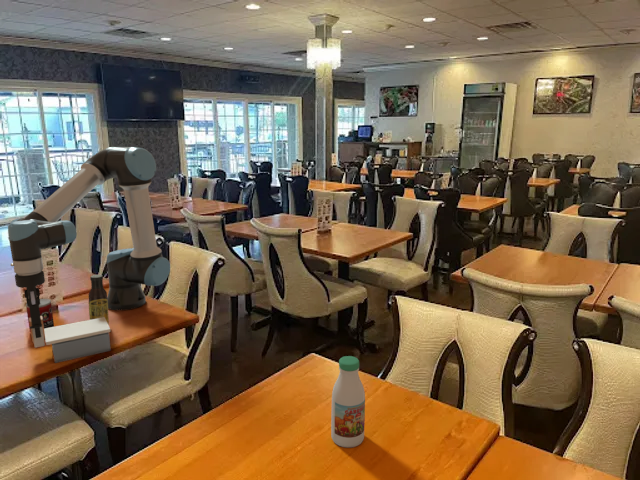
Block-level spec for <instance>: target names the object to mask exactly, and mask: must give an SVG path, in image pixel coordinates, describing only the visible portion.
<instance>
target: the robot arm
mask: <svg viewBox="0 0 640 480" xmlns="http://www.w3.org/2000/svg"><path fill="white" fill-rule="evenodd" d="M154 157H155V156H154V155H153V154H152V152H150V151H148V150H147V149H145V148H143V147H137V146H110V147H106V148H104V149H101V150H100V151H98V152H97V153H95V154H94V155H92V156H91V157H89V158H88V159H87V160H86V161H84V162H83V163H82V164H81V165H80V170H79V171H77V172H76V173H75V174H74V175H72V177H70V178H69V179H68V180H67V181H66V182H65V183H63V184H62V185H61V186H60V187H58V189H56V190H55V191H54V192H53V193H52V194H51V195H50V196H49V197H47V198H46V199H45V200H44V201H42V202H41V203H40V204H39V205H38V206H37V207H36V208H34V209H33V210H32V211H31V212H30V213H29V214H27V215H26V216H25V217H19V218H15V219H13V220H12V221H10V223H9V224H8V225H7V234H8V237H7V238H8V241H9V246H10V252H11V253H10V254H11V260H12V263H10V266H11V267H13V273H14V280H15V285H16V287H18V288H20V289H22V288H23V289H24V288H25V289H24V290H23V293H24V298H25V301H26V304H27V306H28V307H29V308H30V317H31V322H32V326H30V327H29V326H28V329H29V328H30V329H32V332H33V339H34V343H33V344H34V348H41V347H45V346H46V342H45V341H44V336H43V329H42V324H41V318H40V311H39V305H40V299H41V298H40V296H41V294H40V293H41V292H40V287H38V286H41V285H43V284H44V283H45V282H46V280H45V279H46V278H45V272H44V270H43V269H44V263H43V258H42V250H46V249H49V248H54V247H59V246H64V245H68V244H70V243H73V242H74V241H75V240H76V239H77V235H78V233H77V228H76V226H75V224H74V223H73V222H72V221H71V220H60V219H61V218H62V217H64V216H65V215H66V214H68V212H69V211H71V209H73V207H75V206H76V205H77V204H78V203H79V202H80V201H81V200H83V198H84V197H86V196H87V195H88V194H89V193H90V192H91V191H92V190H94V189H95V187H97V186H101V185H103V184H104V183H105V182H107V181H109V180H112V179H117V182H118V183H117V184H118V186H119V188H121V189H123V192H124V198H125V204H126V211H127V216H128V223H129V229H130V235H131V241H132V248H123V249H117V250H114V251H111V252H109V253H107V255H106V267H107V274H108V275H107V276H108V277H107V278H108V284H109V287H108V293H107V301H108V310H111V311H126V310H127V311H128V310H129V311H130V310H132V309H133V310H134V309H136V308H140V307H143V306H144V305H145V304H146V303H147V301H146V299H147V298H146V295H145V293H144V290H143V289H142V286H141V285H146V287H147V286H148V287H151V286H152V287H158V286H161V285H162V284H163V283H165V282H166V281H167V278H168V277H169V274H170V272H171V264H170V260H168V259H167V258H166V257H164V256H163V253H162V252H163V251H162V249H161V248H160V247H159V246H158V245H157V239H156V233H155V225H154V220H153V219H154V218H153V213H152V212H153V211H152V206H151V199H150V198H151V196H150V191H149V186H151V184H152V178H154V176H155V174H156V172H157V164H156V163H157V162H156V159H155V158H154ZM42 318H43V317H42ZM30 329H29V330H30Z"/></svg>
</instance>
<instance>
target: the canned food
mask: <svg viewBox="0 0 640 480" xmlns="http://www.w3.org/2000/svg"><path fill="white" fill-rule="evenodd" d="M52 306H53V305H52V301H51V299H49V298H40V305H39V311H40V316H42V317H43V325H44V329H45V328H50V327H55V323H54V314H53V307H52ZM25 307H26V316H27V321H28V322H27V323H28V330H29V332H30V334H31V329H30V328H29V327H30V322H29V318H31V317H30V308H29V307H28V306H27V303H26V304H25Z"/></svg>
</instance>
